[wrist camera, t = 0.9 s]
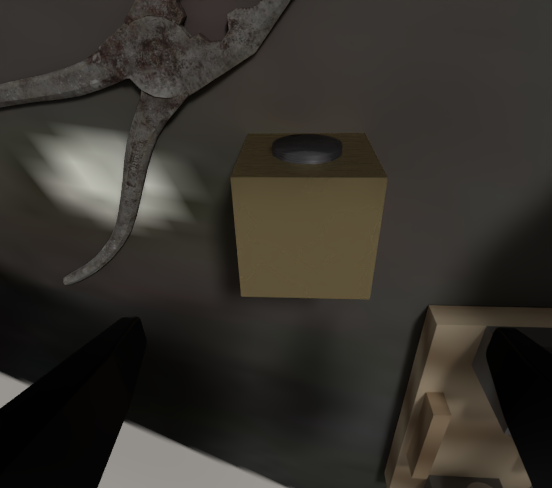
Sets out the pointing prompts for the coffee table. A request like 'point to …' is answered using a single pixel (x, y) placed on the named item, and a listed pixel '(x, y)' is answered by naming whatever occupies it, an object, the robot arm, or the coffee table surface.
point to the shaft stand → (460, 403)
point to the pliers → (148, 85)
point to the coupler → (307, 215)
